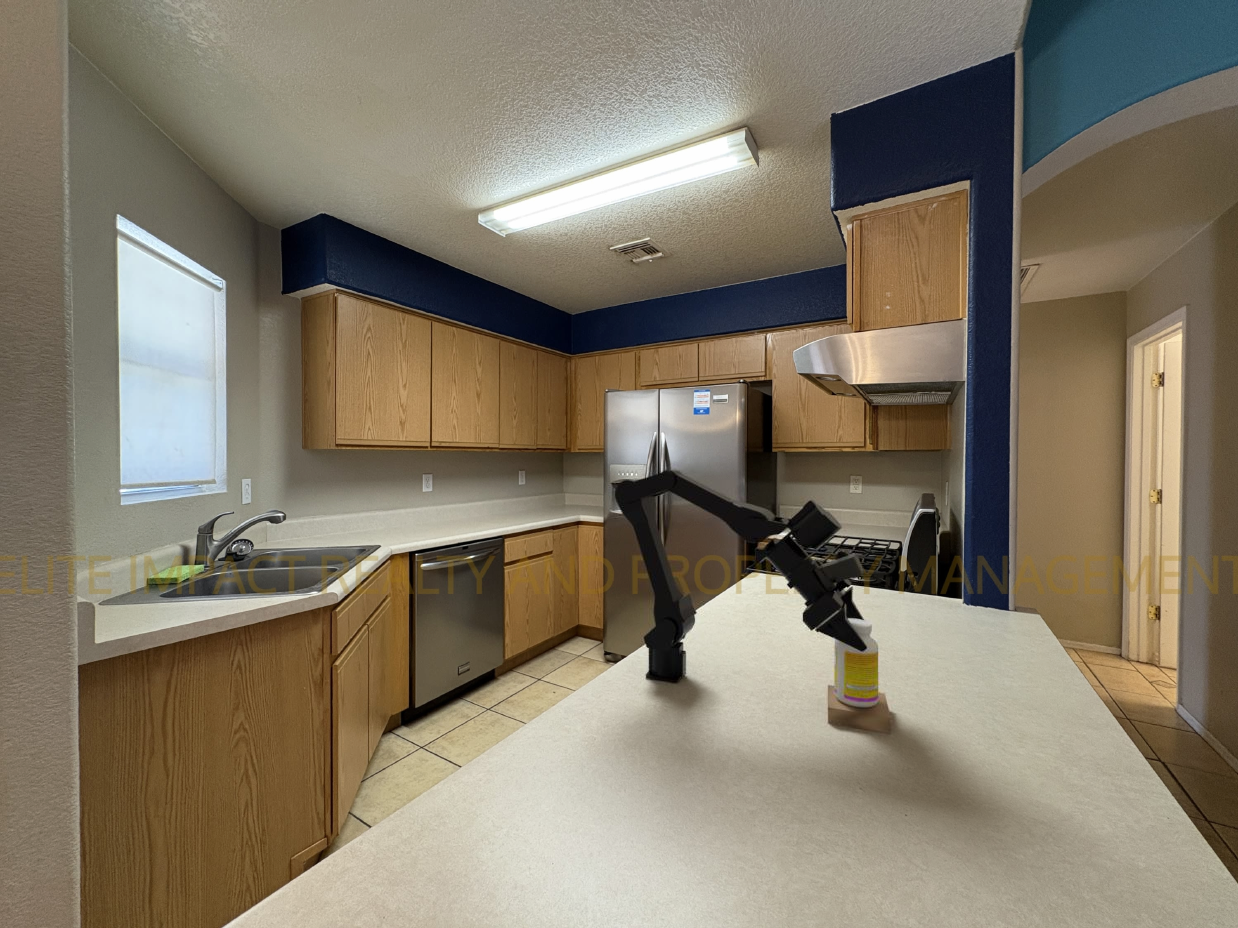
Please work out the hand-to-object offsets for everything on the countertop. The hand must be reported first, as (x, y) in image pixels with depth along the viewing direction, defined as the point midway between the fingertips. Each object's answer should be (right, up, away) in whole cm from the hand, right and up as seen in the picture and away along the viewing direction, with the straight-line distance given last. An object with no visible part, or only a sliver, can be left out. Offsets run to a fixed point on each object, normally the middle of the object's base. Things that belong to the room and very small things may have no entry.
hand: (866, 640), depth 86 cm
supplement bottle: (-1, -10, +1) cm, 10 cm away
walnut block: (-1, -13, +1) cm, 13 cm away
